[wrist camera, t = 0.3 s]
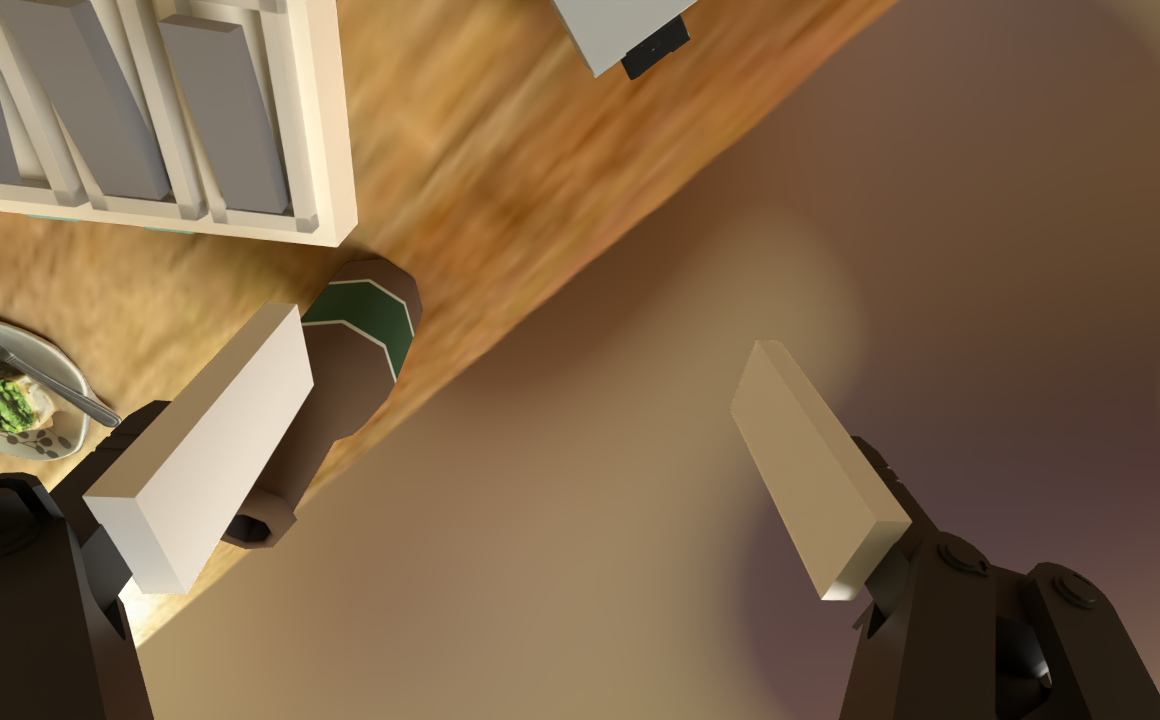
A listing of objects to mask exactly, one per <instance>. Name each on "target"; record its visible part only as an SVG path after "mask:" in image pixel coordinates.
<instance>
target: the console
mask: <svg viewBox="0 0 1160 720" xmlns="http://www.w3.org/2000/svg"><path fill="white" fill-rule="evenodd" d="M90 1H91V3H92V5H93V8H94V10H95V12H96V14H97V17H98V19H99V21H100V23H101V25H102V28H103V30H104V32H105V34H106V37H107V39H108V41H109V43H110V46H111V48H112V50H113V52H114V54H115V57H116V59H117V61H118V63H119V66H120V68H121V70H122V72H123V75H124V77H125V79H126V81H127V84H128V86H129V88H130V90H131V92H132V95H133V97H134V99H135V101H136V104H137V106H138V108H139V110H140V113H141V115H142V117H143V119H144V121H145V124H146V126H147V128H148V130H149V133H150V135H151V137H152V139H153V142H154V144H155V146H156V148H157V151H158V153H159V155H160V157H161V159H162V162H163V164H164V166H165V168H166V171H167V173H168V175H169V178H170V182H171V185H172V189H171V190H170V191H169V192H168V193H167V194H166V195H165V196H164V197H163V198H162V199H161V200H158V199H149V198H141V197H132V196H123V195H114V194H106V193H102V191H101V190H100V188H99V186H98V184H97V182H96V181H95V179H94V177H93V175H92V174H91V172H90V170H89V168H88V166H87V165H86V163H85V161H84V159H83V158H82V156H81V154H80V152H79V150H78V149H77V147H76V145H75V143H74V141H73V140H72V138H71V136H70V134H69V133H68V131H67V129H66V127H65V125H64V124H63V122H62V120H61V118H60V117H59V115H58V113H57V111H56V109H55V108H54V106H53V104H52V102H51V100H50V99H49V97H48V95H47V93H46V92H45V90H44V88H43V86H42V84H41V83H40V81H39V79H38V77H37V75H36V74H35V72H34V70H33V68H32V67H31V65H30V63H29V61H28V59H27V58H26V56H25V54H24V52H23V51H22V49H21V47H20V45H19V43H18V42H17V40H16V38H15V36H14V34H13V33H12V31H11V29H10V27H9V26H8V24H7V22H6V20H5V18H4V17H3V15H2V13H1V11H0V101H1V105H2V109H3V113H4V116H5V120H6V124H7V128H8V131H9V135H10V139H11V143H12V147H13V150H14V154H15V158H16V162H17V165H18V169H19V173H20V177H21V180H22V182H21V183H4V184H0V211H3V212H13V213H22V214H26V215H27V216H29V217H38V218H47V219H57V220H66V221H75V222H79V221H81V220H87V221H96V222H106V223H115V224H124V225H133V226H143V227H144V229H150V230H159V231H169V232H178V233H188V234H194V233H195V232H199V233H208V234H217V235H227V236H236V237H245V238H254V239H264V240H273V241H282V242H292V243H301V244H310V245H320V246H329V247H338V246H339V245H340V243H341V242H342V241H343V240H344V239H345V238H346V237H347V235H348V234H349V233H350V232H351V231H352V230H353V229H354V227H355V226H356V225H357V224H358V218H357V208H356V198H355V188H354V178H353V168H352V158H351V148H350V138H349V128H348V118H347V108H346V98H345V88H344V78H343V68H342V58H341V48H340V39H339V29H338V19H337V9H336V0H90ZM173 14H178V15H184V16H191V17H197V18H203V19H209V20H215V21H222V22H228V23H234V24H240V25H242V27H243V31H244V34H245V38H246V41H247V45H248V49H249V52H250V56H251V60H252V63H253V67H254V70H255V74H256V78H257V81H258V85H259V88H260V92H261V96H262V99H263V103H264V107H265V110H266V114H267V117H268V121H269V125H270V128H271V132H272V135H273V139H274V143H275V146H276V150H277V154H278V157H279V161H280V164H281V168H282V172H283V175H284V179H285V182H286V186H287V190H288V193H289V197H290V200H291V201H290V203H289V204H288V205H287V207H286V208H285V209H284V211H283V212H282V214H280V213H272V212H263V211H254V210H245V209H237V208H228V207H227V206H226V203H225V201H224V198H223V195H222V193H221V190H220V187H219V185H218V182H217V180H216V177H215V174H214V172H213V169H212V166H211V164H210V161H209V158H208V156H207V153H206V151H205V148H204V145H203V143H202V140H201V137H200V135H199V132H198V129H197V127H196V124H195V121H194V119H193V116H192V114H191V111H190V108H189V106H188V103H187V100H186V98H185V95H184V92H183V90H182V87H181V85H180V82H179V79H178V77H177V74H176V71H175V69H174V66H173V63H172V61H171V58H170V55H169V53H168V50H167V48H166V45H165V42H164V40H163V37H162V34H161V32H160V29H159V26H158V24H157V22H158V21H160V20H162V19H164V18H166V17H168V16H170V15H173Z"/></svg>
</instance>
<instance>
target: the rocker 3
mask: <svg viewBox="0 0 1160 720" xmlns="http://www.w3.org/2000/svg"><path fill="white" fill-rule="evenodd" d="M157 24H158V26H159V29H160V32H161V34H162V37H163V40H164V42H165V45H166V48H167V50H168V53H169V55H170V58H171V61H172V63H173V66H174V69H175V71H176V74H177V77H178V79H179V82H180V85H181V87H182V90H183V92H184V95H185V98H186V100H187V103H188V106H189V108H190V111H191V114H192V116H193V119H194V121H195V124H196V127H197V129H198V132H199V135H200V137H201V140H202V143H203V145H204V148H205V151H206V153H207V156H208V158H209V161H210V164H211V166H212V169H213V172H214V174H215V177H216V180H217V182H218V185H219V187H220V190H221V193H222V195H223V198H224V201H225V203H226V206H227V207H228V208H237V209H245V210H254V211H263V212H272V213H280V214H282V212H283V211H284V209H285V208H286V207H287V205H288V204H289V203H290V201H291V200H290V197H289V193H288V190H287V186H286V182H285V179H284V175H283V172H282V168H281V164H280V161H279V157H278V154H277V150H276V146H275V143H274V139H273V135H272V132H271V128H270V125H269V121H268V117H267V114H266V110H265V107H264V103H263V99H262V96H261V92H260V88H259V85H258V81H257V78H256V74H255V70H254V67H253V63H252V60H251V56H250V52H249V49H248V45H247V41H246V38H245V34H244V31H243V27H242V25H240V24H234V23H228V22H222V21H215V20H209V19H203V18H197V17H191V16H184V15H178V14H173V15H170V16H168V17H166V18H164V19H162V20H160V21H158V22H157Z"/></svg>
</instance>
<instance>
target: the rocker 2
mask: <svg viewBox="0 0 1160 720" xmlns="http://www.w3.org/2000/svg"><path fill="white" fill-rule="evenodd" d="M0 11H1V13H2V15H3V17H4V18H5V20H6V22H7V24H8V26H9V27H10V29H11V31H12V33H13V34H14V36H15V38H16V40H17V42H18V43H19V45H20V47H21V49H22V51H23V52H24V54H25V56H26V58H27V59H28V61H29V63H30V65H31V67H32V68H33V70H34V72H35V74H36V75H37V77H38V79H39V81H40V83H41V84H42V86H43V88H44V90H45V92H46V93H47V95H48V97H49V99H50V100H51V102H52V104H53V106H54V108H55V109H56V111H57V113H58V115H59V117H60V118H61V120H62V122H63V124H64V125H65V127H66V129H67V131H68V133H69V134H70V136H71V138H72V140H73V141H74V143H75V145H76V147H77V149H78V150H79V152H80V154H81V156H82V158H83V159H84V161H85V163H86V165H87V166H88V168H89V170H90V172H91V174H92V175H93V177H94V179H95V181H96V182H97V184H98V186H99V188H100V190H101V191H102V193H106V194H114V195H123V196H132V197H141V198H149V199H158V200H161V199H162V198H163V197H164V196H165V195H166V194H167V193H168V192H169V191H170V190H171V189H172V185H171V182H170V178H169V175H168V173H167V171H166V168H165V166H164V164H163V162H162V159H161V157H160V155H159V153H158V151H157V148H156V146H155V144H154V142H153V139H152V137H151V135H150V133H149V130H148V128H147V126H146V124H145V121H144V119H143V117H142V115H141V113H140V110H139V108H138V106H137V104H136V101H135V99H134V97H133V95H132V92H131V90H130V88H129V86H128V84H127V81H126V79H125V77H124V75H123V72H122V70H121V68H120V66H119V63H118V61H117V59H116V57H115V54H114V52H113V50H112V48H111V46H110V43H109V41H108V39H107V37H106V34H105V32H104V30H103V28H102V25H101V23H100V21H99V19H98V17H97V14H96V12H95V10H94V8H93V5H92V3H91V1H90V0H0Z"/></svg>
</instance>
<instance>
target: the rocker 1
mask: <svg viewBox="0 0 1160 720" xmlns="http://www.w3.org/2000/svg"><path fill="white" fill-rule="evenodd" d="M21 182H22V180H21V177H20V173H19V169H18V165H17V162H16V158H15V154H14V150H13V147H12V143H11V139H10V135H9V131H8V128H7V124H6V120H5V116H4V113H3V109H2V105H1V101H0V184H4V183H21Z"/></svg>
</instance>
